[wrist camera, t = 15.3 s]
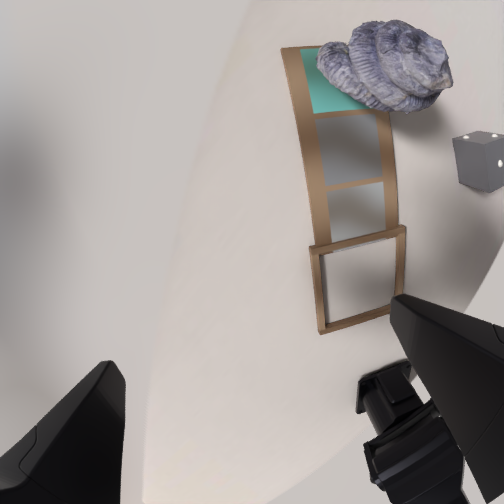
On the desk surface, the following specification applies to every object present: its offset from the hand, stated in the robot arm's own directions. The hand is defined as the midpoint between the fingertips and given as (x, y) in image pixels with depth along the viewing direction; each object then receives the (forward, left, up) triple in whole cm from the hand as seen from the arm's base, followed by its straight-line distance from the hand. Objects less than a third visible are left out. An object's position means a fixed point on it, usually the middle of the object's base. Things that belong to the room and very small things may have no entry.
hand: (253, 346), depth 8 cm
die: (+2, -22, -13) cm, 25 cm away
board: (+4, -9, -12) cm, 16 cm away
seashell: (+8, -9, -12) cm, 18 cm away
